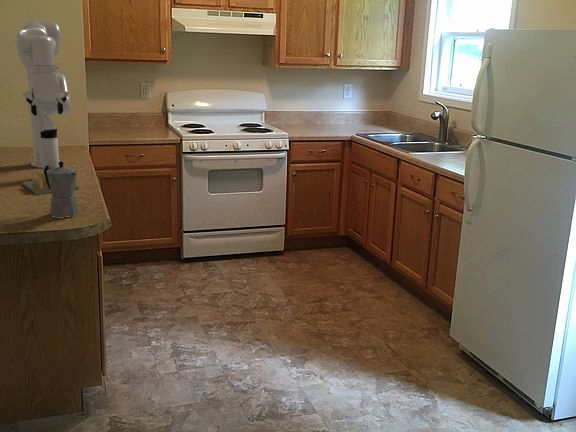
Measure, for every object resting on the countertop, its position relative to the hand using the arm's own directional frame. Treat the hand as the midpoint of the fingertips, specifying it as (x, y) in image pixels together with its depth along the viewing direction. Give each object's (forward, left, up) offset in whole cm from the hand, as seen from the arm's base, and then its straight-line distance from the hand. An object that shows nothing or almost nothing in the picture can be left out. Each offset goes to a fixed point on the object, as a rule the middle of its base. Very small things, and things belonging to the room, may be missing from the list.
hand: (47, 114), depth 248 cm
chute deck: (+13, -5, -26) cm, 29 cm away
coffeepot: (+50, -12, -26) cm, 57 cm away
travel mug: (0, 0, -26) cm, 26 cm away
